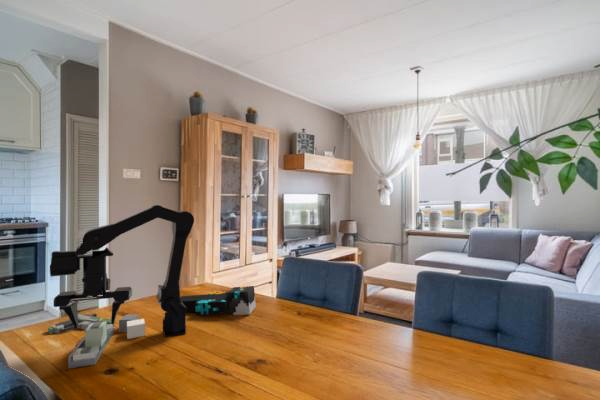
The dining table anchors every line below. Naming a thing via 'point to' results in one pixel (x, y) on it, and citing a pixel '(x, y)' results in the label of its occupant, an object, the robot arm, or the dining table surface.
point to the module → (96, 334)
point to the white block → (124, 321)
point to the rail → (88, 352)
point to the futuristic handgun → (82, 323)
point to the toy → (222, 302)
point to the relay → (135, 328)
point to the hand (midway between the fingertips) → (95, 325)
